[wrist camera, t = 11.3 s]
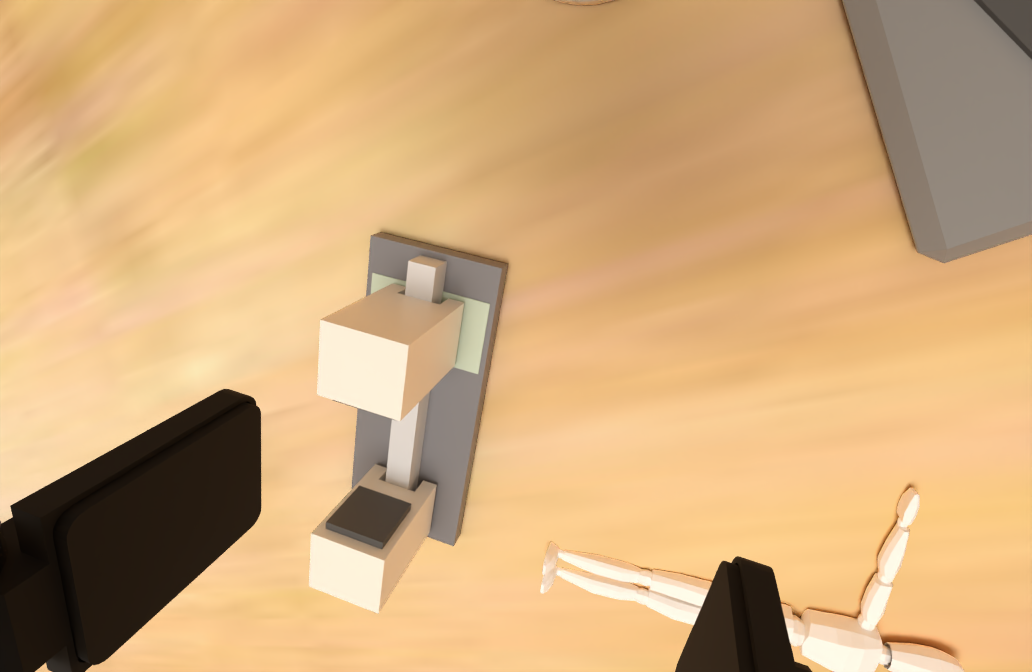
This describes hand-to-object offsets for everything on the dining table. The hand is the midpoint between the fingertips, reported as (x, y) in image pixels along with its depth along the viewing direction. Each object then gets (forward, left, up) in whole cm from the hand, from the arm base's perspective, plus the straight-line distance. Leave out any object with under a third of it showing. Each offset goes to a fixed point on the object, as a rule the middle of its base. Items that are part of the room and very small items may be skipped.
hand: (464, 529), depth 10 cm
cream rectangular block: (+8, -12, -26) cm, 30 cm away
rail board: (+15, -12, -28) cm, 34 cm away
